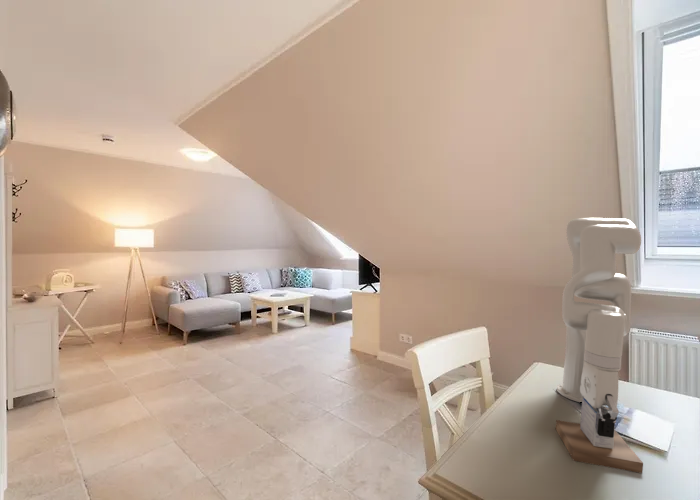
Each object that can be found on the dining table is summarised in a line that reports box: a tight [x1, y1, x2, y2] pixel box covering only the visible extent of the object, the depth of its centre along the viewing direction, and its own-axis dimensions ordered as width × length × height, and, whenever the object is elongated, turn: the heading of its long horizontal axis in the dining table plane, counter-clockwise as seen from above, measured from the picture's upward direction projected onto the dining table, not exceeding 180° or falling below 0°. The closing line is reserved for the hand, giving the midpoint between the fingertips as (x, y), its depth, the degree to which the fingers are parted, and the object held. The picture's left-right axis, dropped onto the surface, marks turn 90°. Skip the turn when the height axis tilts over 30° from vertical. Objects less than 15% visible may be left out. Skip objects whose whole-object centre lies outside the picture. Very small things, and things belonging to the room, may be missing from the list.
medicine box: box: [579, 399, 616, 449], centre depth 88 cm, size 8×4×9 cm, turn 167°
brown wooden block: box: [555, 419, 644, 474], centre depth 88 cm, size 14×14×2 cm
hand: (596, 425), depth 87 cm, fingers open, 9 cm apart
